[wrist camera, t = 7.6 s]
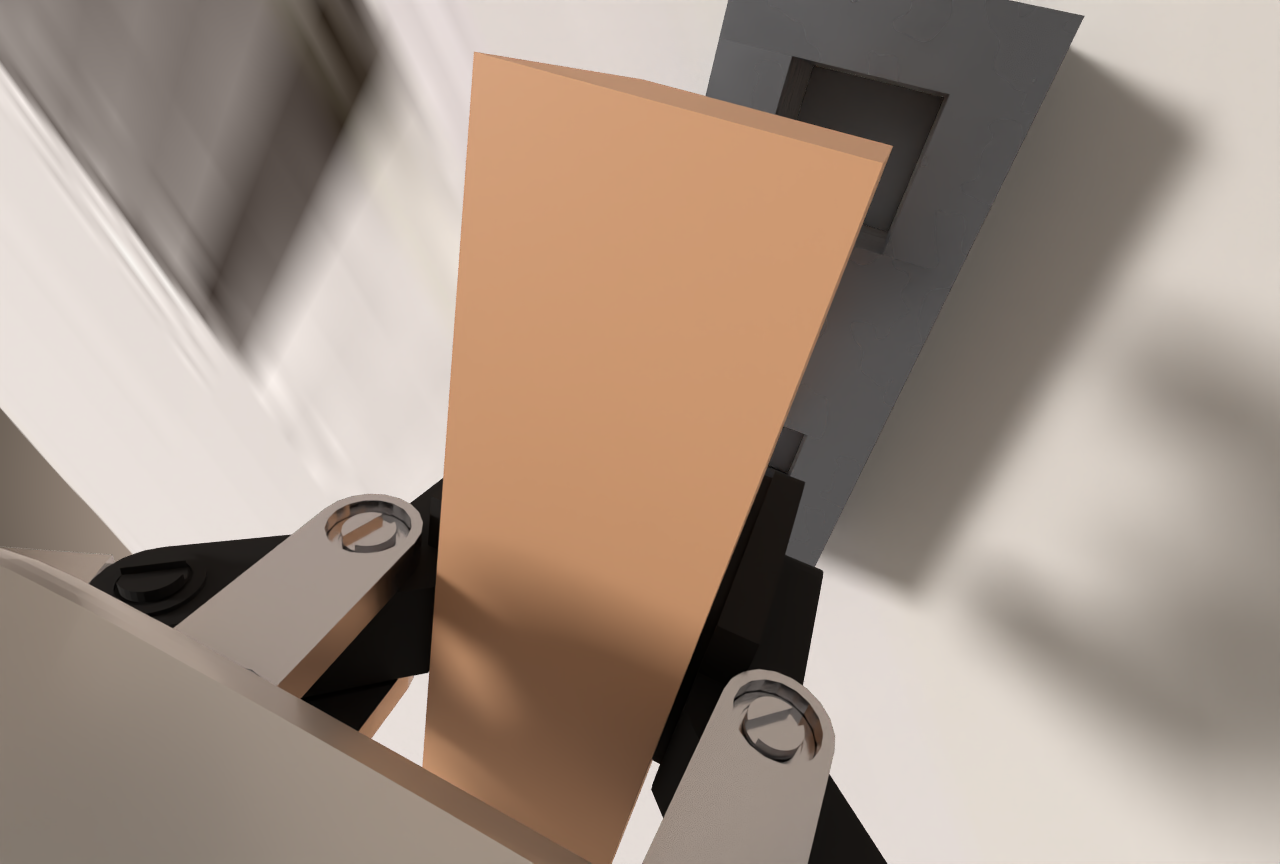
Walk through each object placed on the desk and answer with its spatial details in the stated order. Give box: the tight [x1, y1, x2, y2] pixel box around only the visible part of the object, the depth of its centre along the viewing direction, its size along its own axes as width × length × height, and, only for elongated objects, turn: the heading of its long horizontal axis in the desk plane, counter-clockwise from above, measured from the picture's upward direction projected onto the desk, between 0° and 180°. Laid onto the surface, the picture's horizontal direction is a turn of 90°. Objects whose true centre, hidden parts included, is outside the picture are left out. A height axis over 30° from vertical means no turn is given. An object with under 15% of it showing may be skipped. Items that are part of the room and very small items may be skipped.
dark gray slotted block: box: [706, 0, 1084, 567], centre depth 21 cm, size 8×18×4 cm, turn 166°
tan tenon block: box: [422, 52, 893, 864], centre depth 11 cm, size 3×13×8 cm, turn 166°
